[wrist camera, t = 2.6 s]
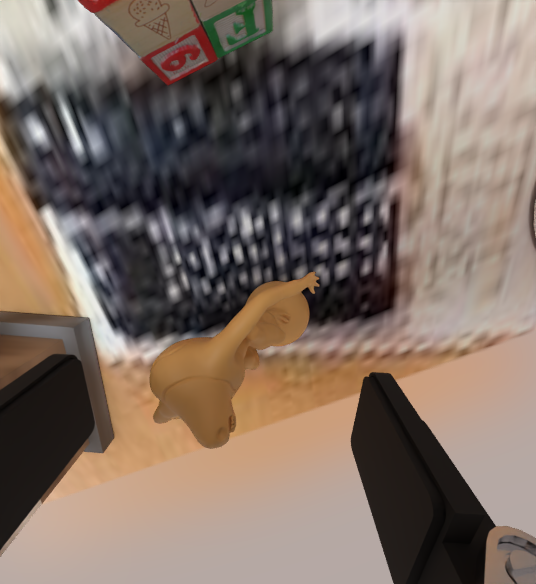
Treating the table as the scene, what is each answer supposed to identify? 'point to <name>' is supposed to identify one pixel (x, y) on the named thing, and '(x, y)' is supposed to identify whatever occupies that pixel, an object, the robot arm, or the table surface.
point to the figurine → (226, 360)
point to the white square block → (38, 346)
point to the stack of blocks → (183, 30)
